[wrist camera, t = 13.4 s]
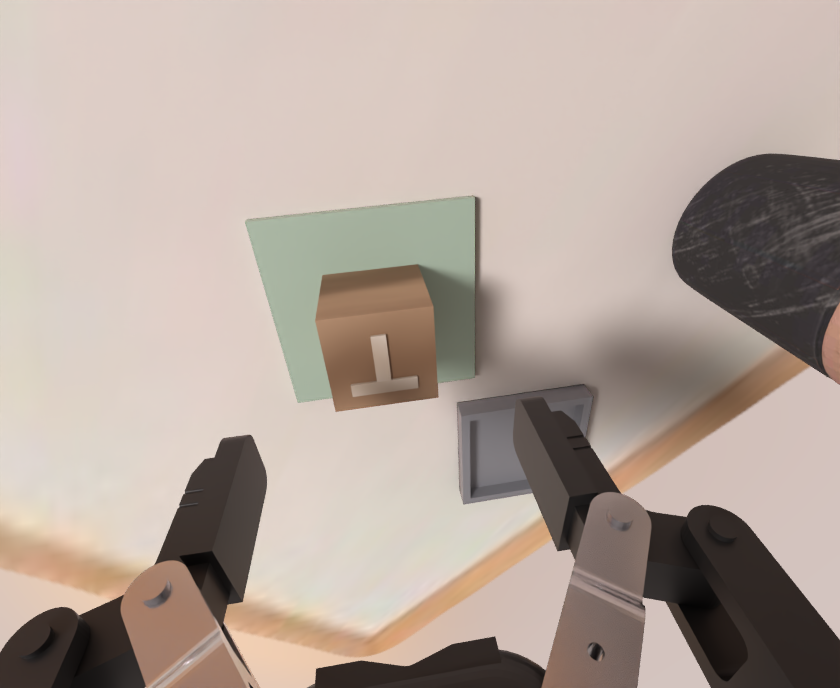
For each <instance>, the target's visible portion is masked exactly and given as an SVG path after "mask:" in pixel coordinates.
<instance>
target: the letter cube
mask: <svg viewBox="0 0 840 688" xmlns="http://www.w3.org/2000/svg"><path fill="white" fill-rule="evenodd" d="M315 323H316V327H317V331H318V336H319V340H320V345H321V349H322V353H323V358H324V362H325V367H326V371H327V375H328V380H329V384H330V388H331V393H332V397H333V402H334V406H335V410H336V412H338V411H345V410H352V409H359V408H366V407H373V406H380V405H388V404H395V403H402V402H409V401H416V400H423V399H430V398H437V397H438V381H437V363H436V344H435V326H434V307H433V304H432V301H431V298H430V296H429V293H428V290H427V287H426V285H425V282H424V279H423V277H422V274H421V271H420V269H419V266H418V264H415V265H406V266H397V267H388V268H380V269H371V270H362V271H353V272H344V273H336V274H327V275H322V280H321V286H320V293H319V299H318V305H317V312H316V318H315Z"/></svg>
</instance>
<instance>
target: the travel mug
mask: <svg viewBox="0 0 840 688" xmlns="http://www.w3.org/2000/svg"><path fill="white" fill-rule="evenodd" d="M672 257H673V263H674V266H675V269H676V271H677V273H678V275H679V276H680V278H681V279H682V280H683V281H684V282H685V283H686V284H687V285H689V286H690V287H691V288H693V289H694V290H696V291H697V292H698V293H700V294H701V295H703V296H704V297H706V298H707V299H709V300H710V301H712V302H713V303H715V304H716V305H718V306H720V307H721V308H723V309H724V310H726V311H727V312H729V313H730V314H732V315H733V316H735V317H736V318H738V319H739V320H741V321H742V322H744V323H746V324H747V325H749V326H750V327H752V328H753V329H755V330H756V331H758V332H759V333H761V334H762V335H764V336H765V337H767V338H769V339H770V340H772V341H773V342H775V343H776V344H778V345H779V346H781V347H782V348H784V349H785V350H787V351H788V352H790V353H792V354H793V355H795V356H796V357H798V358H799V359H801V360H802V361H804V362H805V363H807V364H808V365H810V366H811V367H813V368H814V369H816V370H818V371H819V372H821V373H822V374H824V375H826V376H827V377H829V378H831V379H833V380H834V381H835V382H837V383H838V384H840V160H833V159H824V158H816V157H806V156H796V155H786V154H762V155H756V156H752V157H748V158H746V159H743V160H740V161H738V162H736V163H734V164H732V165H730V166H729V167H727V168H725V169H724V170H722V171H721V172H719V173H718V174H717V175H716V176H714V177H713V178H712V179H711V180H710V181H708V182H707V183H706V184H705V185H704V186H703V187H702V188H701V189H700V191H699V192H698V193H697V194H696V195H695V196H694V198H693V199H692V200H691V202H690V203H689V205H688V206H687V208H686V209H685V211H684V213H683V215H682V217H681V219H680V221H679V223H678V226H677V228H676V231H675V235H674V239H673V246H672Z"/></svg>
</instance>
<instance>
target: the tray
mask: <svg viewBox="0 0 840 688" xmlns="http://www.w3.org/2000/svg"><path fill="white" fill-rule="evenodd" d="M537 396H542V397H543V398H544V400H545V401H546V403H547V405H548V406H549V408H550V410H551V412H553V411H560V410H561V411H563V412H564V413H565V414H566V415H568V416H569V417H570V418H572V419H573V420H574V421H575V422H576V423H577V425H578V427H579V428H580V430H581V431H582V433H583V434H584V437H586V432H587V427H588V421H589V416H590V411H591V406H592V401H593V395H592V394H591V393H590V392H589V390H588V389H587V388H586V386H585V385H584V384H583V385H576V386H569V387H562V388H556V389H549V390H542V391H535V392H528V393H521V394H514V395H508V396H501V397H494V398H487V399H480V400H473V401H466V402H459V403H457V420H458V454H459V488H460V494H461V497H462V501H463V504H469V503H475V502H481V501H487V500H493V499H499V498H505V497H512V496H518V495H524V494H530V493H533V492H532V490H531V487H530V485H529V483H528V480H527V478H526V476H525V473H524V471H523V468H522V466H521V464H520V461H519V459H518V457H517V454H516V451H515V448H514V443H513V427H514V415H515V404H516V400H517V399H522V398H530V397H537Z"/></svg>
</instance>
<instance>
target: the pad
mask: <svg viewBox="0 0 840 688" xmlns="http://www.w3.org/2000/svg"><path fill="white" fill-rule="evenodd" d="M245 224H246V227H247V231H248V234H249V237H250V241H251V244H252V248H253V251H254V255H255V258H256V261H257V265H258V268H259V272H260V275H261V278H262V282H263V285H264V289H265V292H266V296H267V299H268V302H269V306H270V309H271V313H272V316H273V319H274V323H275V326H276V330H277V333H278V337H279V340H280V343H281V347H282V350H283V354H284V357H285V360H286V364H287V367H288V371H289V374H290V378H291V381H292V384H293V388H294V391H295V395H296V398H297V401H298V403H301V402H308V401H315V400H322V399H329V398H333V397H332V393H331V388H330V384H329V380H328V375H327V371H326V367H325V362H324V358H323V353H322V349H321V345H320V340H319V336H318V331H317V327H316V323H315V318H316V312H317V305H318V299H319V293H320V286H321V280H322V275H327V274H336V273H344V272H353V271H362V270H371V269H380V268H388V267H397V266H406V265H415V264H418V266H419V269H420V271H421V274H422V277H423V279H424V282H425V285H426V287H427V290H428V293H429V296H430V298H431V301H432V304H433V307H434V326H435V344H436V363H437V381H438V383H442V382H450V381H457V380H464V379H471V378H475V197H474V196H465V197H455V198H446V199H437V200H427V201H418V202H408V203H399V204H389V205H380V206H370V207H361V208H351V209H342V210H332V211H323V212H314V213H304V214H295V215H285V216H276V217H266V218H257V219H247V220H246V221H245Z"/></svg>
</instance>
